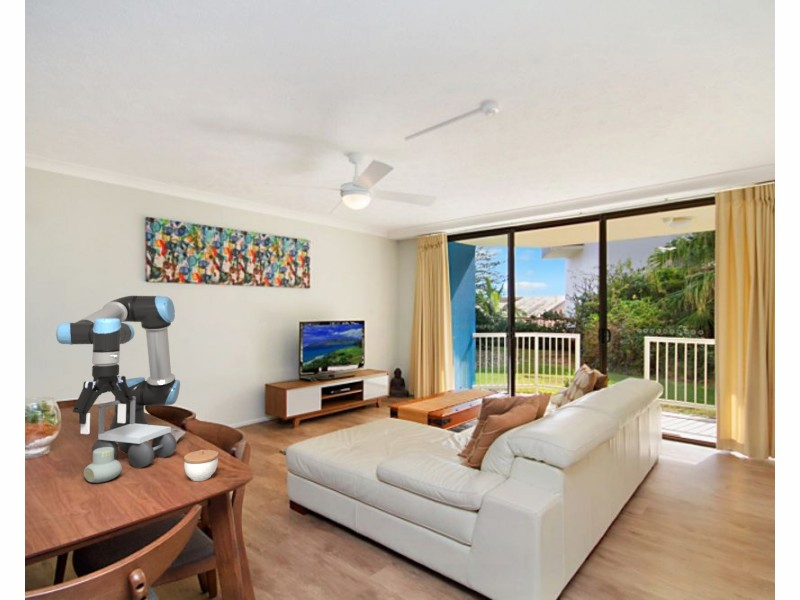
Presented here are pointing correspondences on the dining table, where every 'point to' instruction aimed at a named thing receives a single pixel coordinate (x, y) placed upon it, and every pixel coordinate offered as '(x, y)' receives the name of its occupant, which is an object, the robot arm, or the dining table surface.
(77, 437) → the dining table surface
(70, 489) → the dining table surface
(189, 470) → the lidded jar
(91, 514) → the dining table surface
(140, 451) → the trolley
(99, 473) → the air freshener
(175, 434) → the decorative stone
